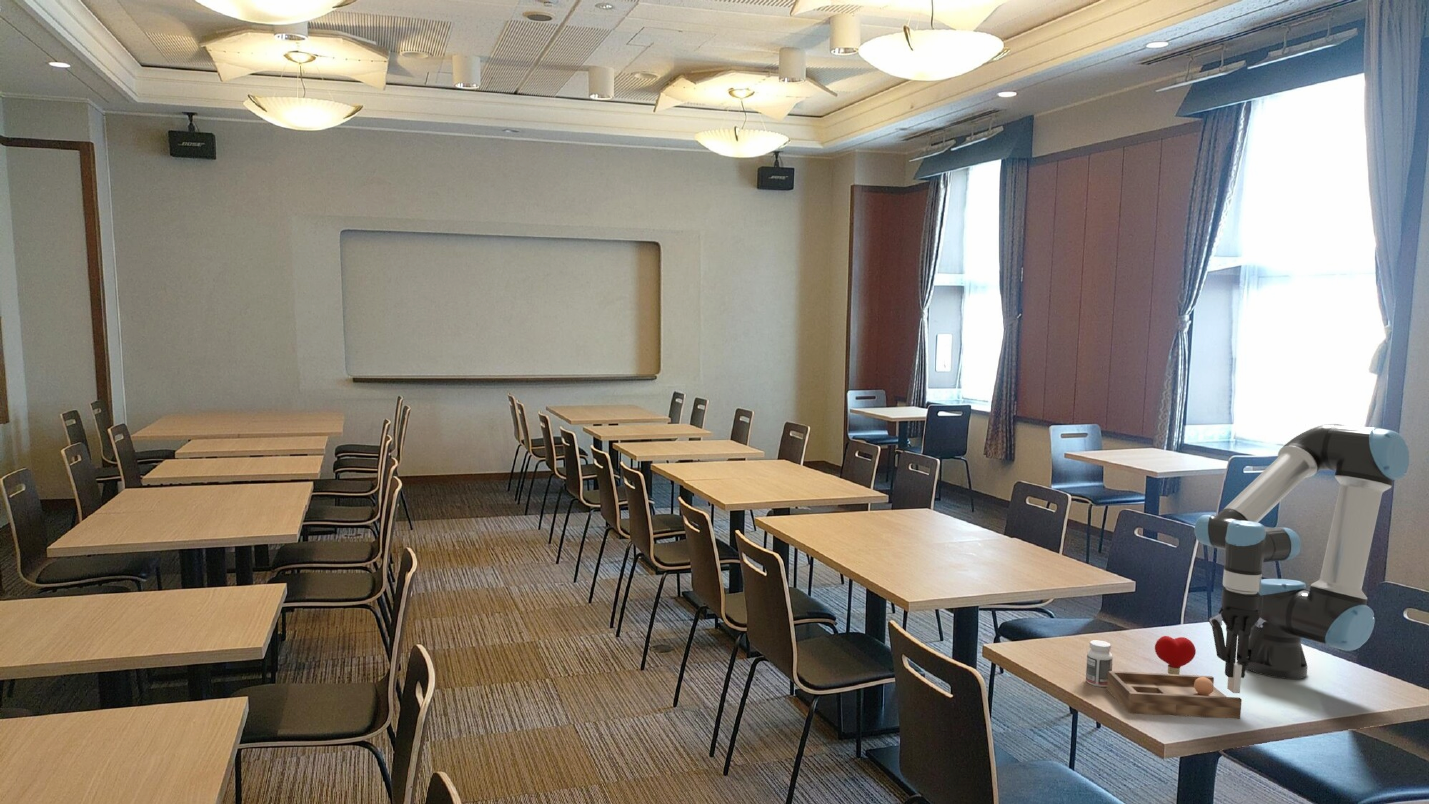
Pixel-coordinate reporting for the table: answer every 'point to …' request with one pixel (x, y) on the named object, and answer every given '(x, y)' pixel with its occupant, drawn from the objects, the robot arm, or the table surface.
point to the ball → (1203, 686)
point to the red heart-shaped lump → (1175, 652)
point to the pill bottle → (1098, 663)
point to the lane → (1169, 695)
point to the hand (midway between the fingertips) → (1233, 690)
